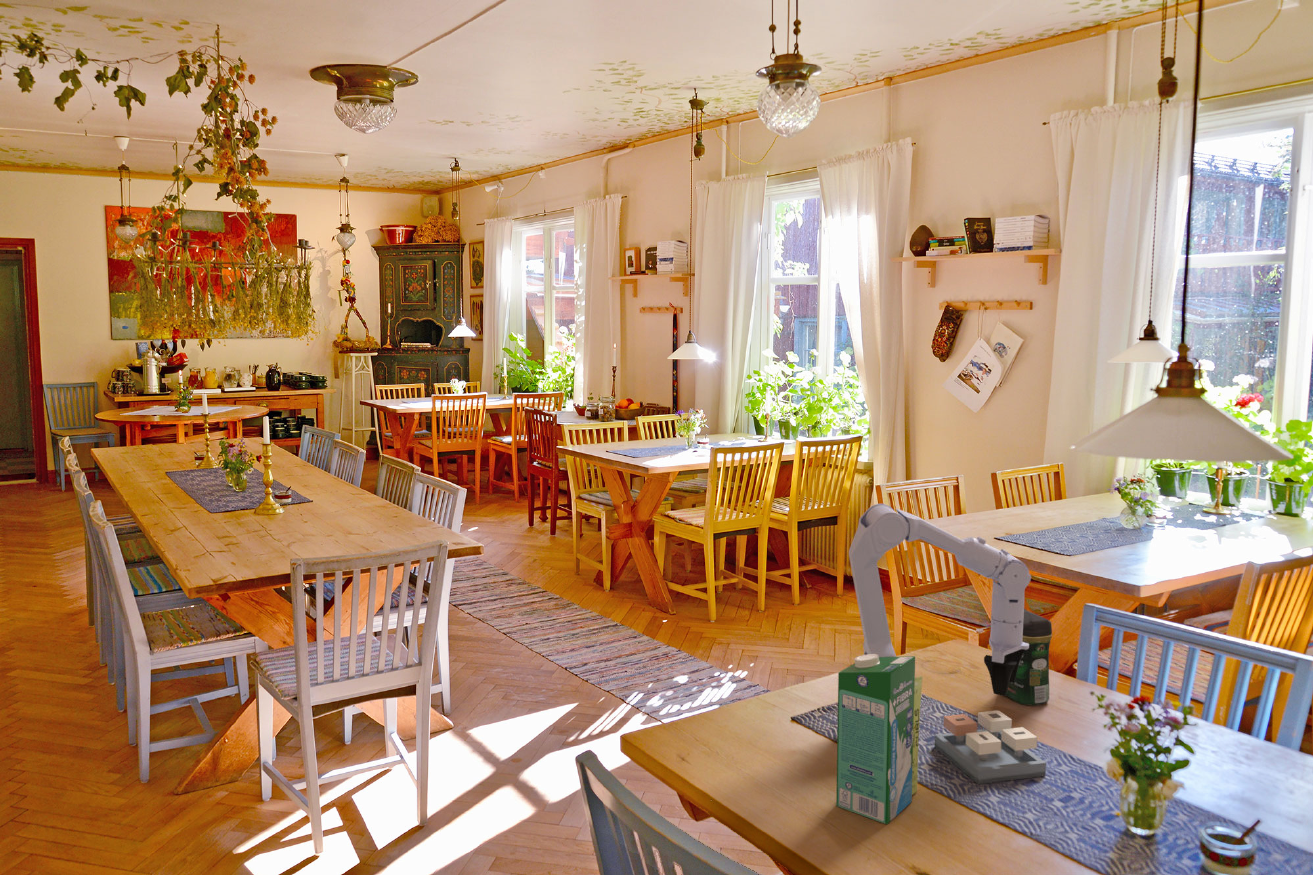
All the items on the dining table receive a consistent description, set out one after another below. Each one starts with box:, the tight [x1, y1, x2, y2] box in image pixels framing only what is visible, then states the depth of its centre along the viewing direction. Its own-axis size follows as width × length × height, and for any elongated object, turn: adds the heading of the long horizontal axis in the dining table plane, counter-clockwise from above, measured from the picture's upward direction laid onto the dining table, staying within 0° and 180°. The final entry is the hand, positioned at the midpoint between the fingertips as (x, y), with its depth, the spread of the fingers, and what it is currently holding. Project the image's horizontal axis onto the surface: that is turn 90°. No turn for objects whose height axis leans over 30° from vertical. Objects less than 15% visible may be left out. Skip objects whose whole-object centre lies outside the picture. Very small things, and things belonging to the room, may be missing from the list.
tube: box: [912, 675, 923, 796], centre depth 152 cm, size 6×5×20 cm
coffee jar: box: [1005, 608, 1053, 707], centre depth 191 cm, size 10×8×19 cm
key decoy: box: [943, 713, 978, 742], centre depth 166 cm, size 4×4×4 cm
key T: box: [1001, 726, 1038, 757], centre depth 161 cm, size 4×4×4 cm
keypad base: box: [934, 728, 1047, 785], centre depth 164 cm, size 13×14×2 cm
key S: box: [966, 731, 1001, 761], centre depth 159 cm, size 4×4×4 cm
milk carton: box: [835, 654, 916, 825], centre depth 148 cm, size 9×9×25 cm
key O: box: [977, 710, 1013, 738], centre depth 168 cm, size 4×4×4 cm
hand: (1004, 687), depth 174 cm, fingers open, 7 cm apart
